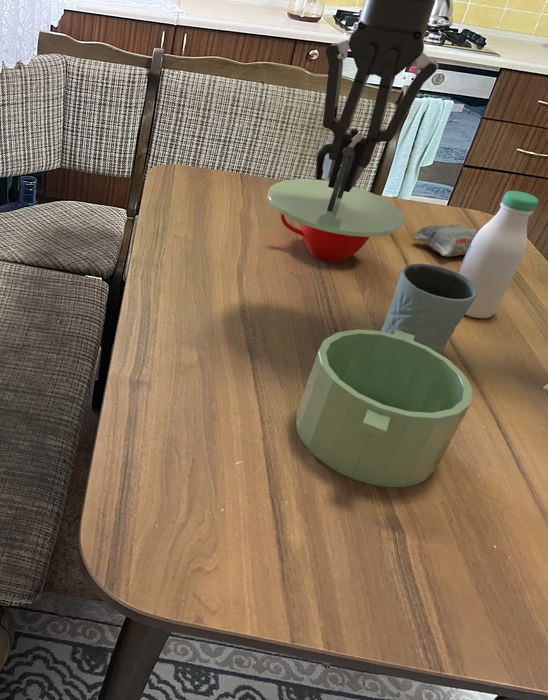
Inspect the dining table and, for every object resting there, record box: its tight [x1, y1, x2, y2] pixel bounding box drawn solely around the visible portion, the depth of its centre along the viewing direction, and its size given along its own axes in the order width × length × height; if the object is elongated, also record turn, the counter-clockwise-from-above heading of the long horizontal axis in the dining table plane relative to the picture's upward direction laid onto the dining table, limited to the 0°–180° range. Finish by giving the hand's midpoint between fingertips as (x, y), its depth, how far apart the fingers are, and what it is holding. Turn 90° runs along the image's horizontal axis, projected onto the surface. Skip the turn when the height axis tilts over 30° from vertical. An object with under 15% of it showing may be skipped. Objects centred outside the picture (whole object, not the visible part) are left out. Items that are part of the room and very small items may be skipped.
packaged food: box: [414, 223, 479, 258], centre depth 132 cm, size 9×12×5 cm
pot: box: [295, 329, 473, 488], centre depth 82 cm, size 17×22×10 cm
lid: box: [266, 133, 405, 238], centre depth 91 cm, size 18×18×10 cm
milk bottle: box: [456, 190, 539, 319], centre depth 110 cm, size 8×8×20 cm
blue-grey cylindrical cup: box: [380, 263, 477, 355], centre depth 99 cm, size 10×10×12 cm
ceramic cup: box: [279, 212, 370, 263], centre depth 125 cm, size 13×17×10 cm
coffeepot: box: [315, 128, 365, 187], centre depth 139 cm, size 15×9×18 cm, turn 122°
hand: (340, 186), depth 91 cm, fingers closed on lid
